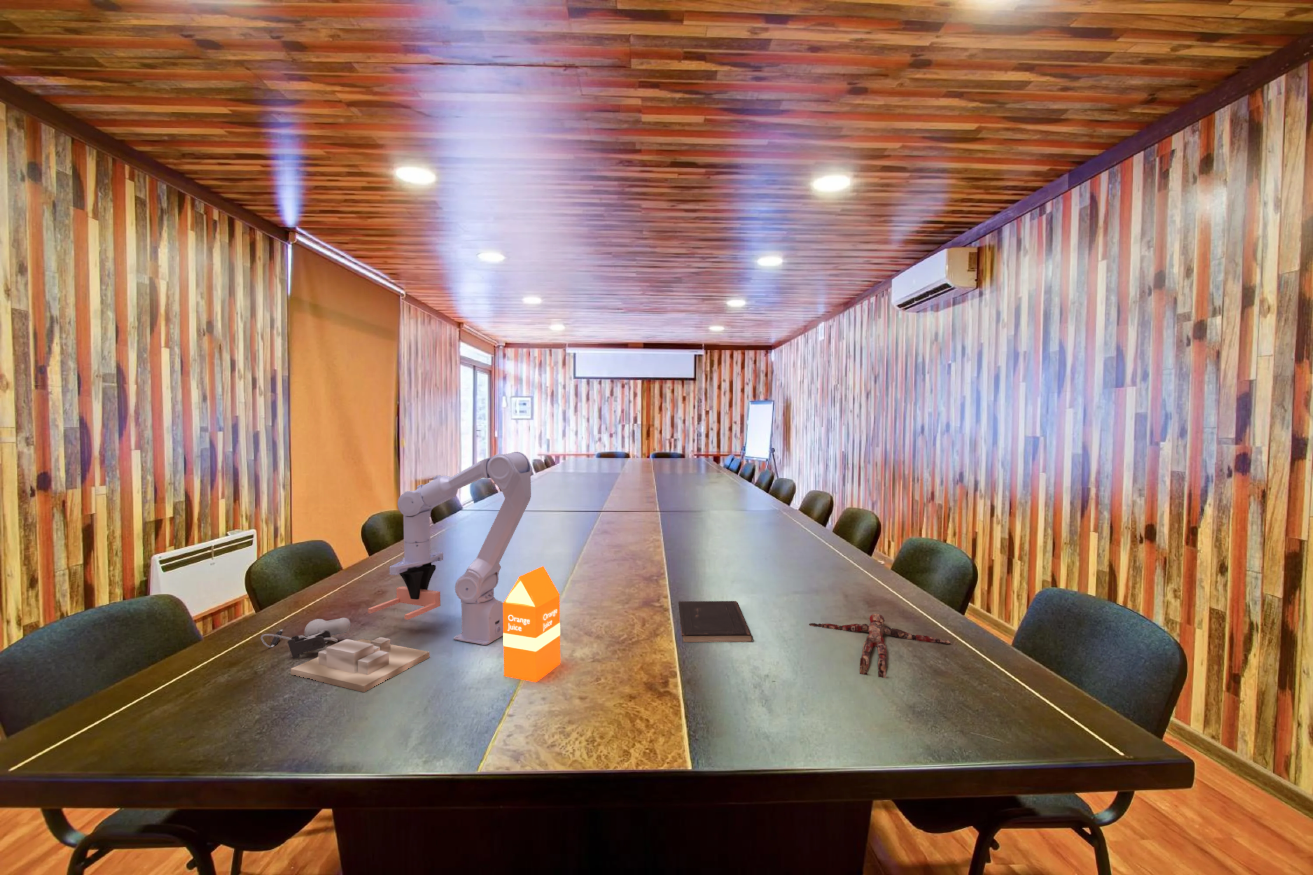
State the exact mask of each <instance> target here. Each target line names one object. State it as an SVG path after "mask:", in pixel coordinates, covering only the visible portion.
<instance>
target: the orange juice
mask: <svg viewBox="0 0 1313 875" xmlns="http://www.w3.org/2000/svg"><path fill="white" fill-rule="evenodd" d="M560 595H561V594H560V593H559V591H558V589H557V587H556V585H555V583H554V581H553V580H552V578H551V577H550V575H549V573H548V571H547V570H546V568H545V567H544V565H542V566H540V567H537V568H535V569H534V570H531V571H528V572H526V573H524V574H522V575H520V576H519V575H518V578H517V580H516V581H515V584H513V587H512V588H511V590H510V592H509V593H508V594H507V596H506V598H505V599H504V602H502V603H503V636H502V639H503V640H502V644H503V645H502V646H503V676H504V677H507V678H512V679H518V680H523V681H527V682H532V683H537V682H539V681H540V680H542V678H544V677H546V675H548V674H549V673H551V672H552V671H553V670H554V669H555V668H557V667H558V666H560V665H561V620H560V619H561V610H560V609H561V607H560V605H561V604H560Z"/></svg>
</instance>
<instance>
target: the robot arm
mask: <svg viewBox="0 0 1313 875" xmlns="http://www.w3.org/2000/svg"><path fill="white" fill-rule="evenodd" d="M532 473H533V467H532V465H531V463H530V461H529V458H528V457H527V456H526V454H524V453H523V452H521V451H514V452H511V453H498V454H494V455H492V456H490V457H487V458H484V459H481V460H479V461H478V462H476V463H474V464H472V465H471V466H469V467H467V468H465V469H463V470H462V471H460V472H459V473H457V474H454V475H453V476H448V475H445V474H444V475H443V474H442V475H441V474H437V475H435V476H433V478H432V479H433V480H431V481H429V482H427V483H425V484H419V485H417V486H416V489H415V490H406V491H404V492H403V493H402V494H401V495H400V496H399V497H398V499H397V507H398V510H399V512H400V513H401V514H402V515H403V517H402V518H403V551H404V553H403V554H404V555H403V557H402V560H400V561H399V562H397V563H396V562H395V563H394V564H392V565H390V566H389V575H391V576H398V575H400V577H401V578H402V581H403V582H404V583H405V587H407V588H408V591H409V595H410V598H411V599H416V600H417V599H419V596H420V589H425V590H429V585H430V581H431V580H432V579H431V578H432V577H433V575H434V573H435V571H436V569H437V565H436V564H433V563H435V562H438V561H439V562H441V561H444V552H441V551H436V552H432V553H431V519H430V518H431V517H432V516H431V515H432V514H431V513H432V510H433V509H434V508H436V507H438V506H439V505H441V504H444V503H445V502H447V501H449V500H451V499H453V498H455V497H456V495H457V494H458V490H459V489H461V488H465V487H467V486H468V485H470V484H473V483H475V482H477V481H479V480H481V479H487V480H488V479H491V480H492V481H493V482H494V484H495V485H496V486H497V487H498V488H499V490H500V491H501V492H502V494H503V496H504V500H503V502H502V504H501V506H500V508H499V510H498V512H497V515H496V516H495V519H494V521H493V523H492V525H491V527H490V529H489V532H488V533H487V535H486V537H485V540H484V542H483V544H482V545H481V548H480V549H479V552H478V554H477V556H476V558H475V559H474V560H473V561H472V562H471V564H469V566H468V567H467V568H466V570H465V572H464V573H463V574H462V575H461V576H459V577H458V579H457V580H456V582H455V585H454V590H455V595H456V596H457V598H458V599H459V600H460V603H461V633H459V634H457V635H455V636H454V637H453V640H455V641H461V642H467V643H472V644H478V645H483V646H488V645H489V644H491V643H492V642H494V641H495V640H496V641H497V639H499V638H501V637H503V602H502V601H501V600H498V599H497V598H495V597H494V596H495V591H494V590H495V588H496V587H497V585H498V583H499V573H500V570H502V567H501V565H500V562H501V560H502V558H503V556H504V554H505V552H506V550H507V548H508V546H509V544H510V541H511V540H512V538H513V535H514V534H515V532H516V530H517V528H518V525H519V523H520V521H521V519H522V517H523V515H524V513H525V511H526V509H527V507H528V505H529V503H530V501H531V498H532V484H531V483H532V480H531V479H532V478H531V475H532Z"/></svg>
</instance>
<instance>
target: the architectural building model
mask: <svg viewBox="0 0 1313 875" xmlns="http://www.w3.org/2000/svg"><path fill="white" fill-rule="evenodd" d="M430 656H431V655H430V651H429V650H422V649H417V648H412V647H411V648H410V647H408V646H407V647H406V646H401V645H396V644H391V638H385V637H381V636H379V637H377V638H375V639H373V640H369V639H365V638H359V639H358V640H352V639H349V638H346V639H343V640H341V641H339V642H338V641H337V642H336V643H334V644H331V645H329V646H327V647H326V646H325V649H322V650H320V651H318V654H317V657H315V658H313V659H310V660H308V661H306V662H305V661H304V662H303V663H301V664H299V665H296V666H294V667H291V668H290V675H291V676H294V675H296V676H295V677H299V676H300V677H299V678H303V677H304V678H303V679H307V678H310V679H309V680H311V679H313V680H312V681H315V680H316V682H320V683H323V682H324V684H327V685H333V686H337V687H341V688H344V689H348V690H352V691H358V692H360V693H365V692H368V691H370V690H371V689H373V688H375V687H377V686H379V685H380V683H381V684H383V683H384V682H386V681H387V679H388V680H390V679H392V678H394V677H396V676H397V675H399V674H402V673H403V672H405V671H406V670H409V669H411V668H412V667H415V666H416V665H418V664H421V663H422V662H424V661H426V660H427V659H429V658H430ZM408 668H409V669H408ZM389 678H390V679H389ZM385 680H386V681H385ZM382 682H383V683H382ZM378 684H379V685H378ZM376 685H377V686H376ZM374 686H375V687H374ZM367 690H368V691H367Z"/></svg>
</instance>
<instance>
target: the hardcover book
mask: <svg viewBox="0 0 1313 875" xmlns="http://www.w3.org/2000/svg"><path fill="white" fill-rule="evenodd" d="M677 603H678V614H679V620H680V622H679V623H680V631H681V632H680V633H681V637H682V640H683V643H727V642H728V643H729V642H730V643H731V642H732V643H734V642H735V643H738V642H741V643H744V642H746V643H747V642H749V643H753V642H754V641H753V639H754V638H753V634H752V632H751V630H750V628H749V625H748V623H747V620H746V619H745V616H744V613H743V611H742V609H741V607H740V605H739V602H738V601H736V600H711V601H710V600H697V601H695V600H692V601H689V600H686V601H685V600H684V601H683V600H682V601H678V602H677Z"/></svg>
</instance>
